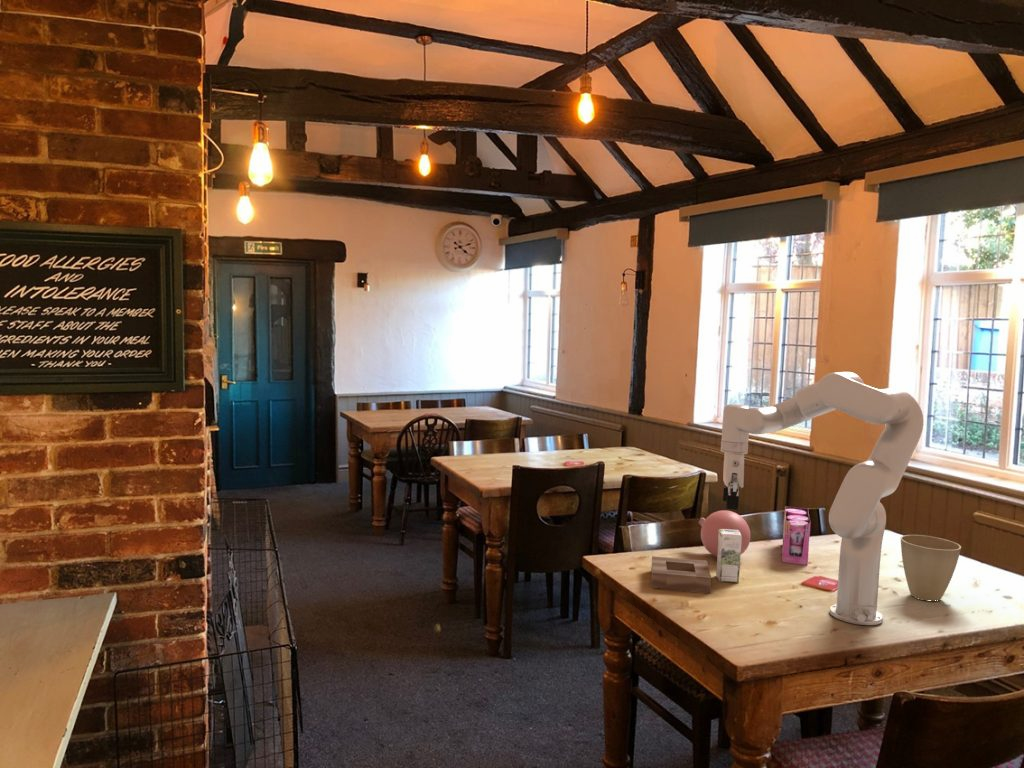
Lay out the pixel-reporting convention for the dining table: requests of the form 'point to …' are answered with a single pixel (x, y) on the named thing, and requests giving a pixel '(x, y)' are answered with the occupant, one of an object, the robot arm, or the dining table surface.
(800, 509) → the gum box
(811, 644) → the dining table surface
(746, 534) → the balloon
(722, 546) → the syrup box
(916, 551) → the plant pot
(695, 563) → the walnut stand
